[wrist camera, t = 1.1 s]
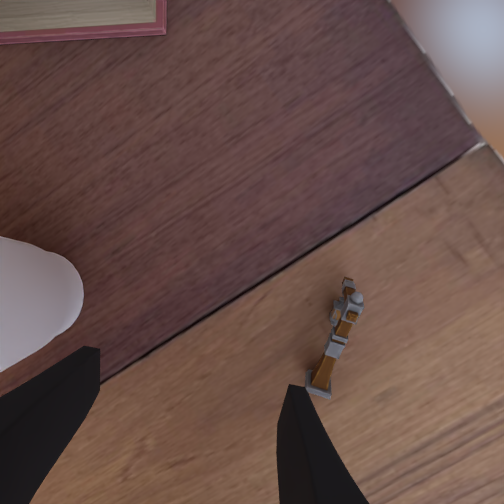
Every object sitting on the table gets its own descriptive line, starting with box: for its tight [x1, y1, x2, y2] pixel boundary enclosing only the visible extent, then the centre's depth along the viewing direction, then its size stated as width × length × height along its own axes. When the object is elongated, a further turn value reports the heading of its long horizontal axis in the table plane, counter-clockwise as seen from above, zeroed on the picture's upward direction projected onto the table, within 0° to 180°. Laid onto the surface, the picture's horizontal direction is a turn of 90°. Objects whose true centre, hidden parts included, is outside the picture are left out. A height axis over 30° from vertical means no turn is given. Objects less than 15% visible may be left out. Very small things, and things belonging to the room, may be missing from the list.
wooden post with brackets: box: [305, 277, 364, 399], centre depth 22 cm, size 2×8×4 cm, turn 163°
